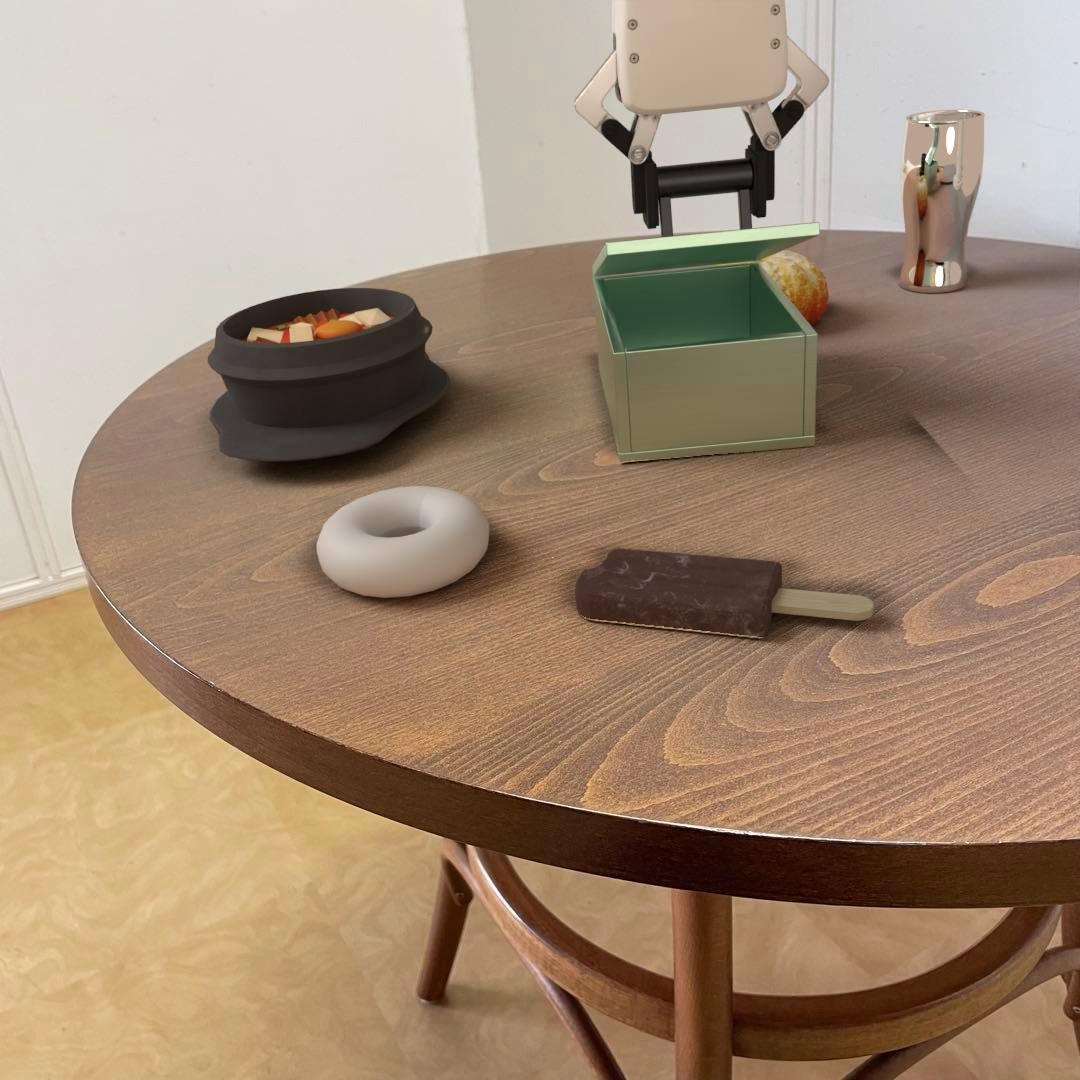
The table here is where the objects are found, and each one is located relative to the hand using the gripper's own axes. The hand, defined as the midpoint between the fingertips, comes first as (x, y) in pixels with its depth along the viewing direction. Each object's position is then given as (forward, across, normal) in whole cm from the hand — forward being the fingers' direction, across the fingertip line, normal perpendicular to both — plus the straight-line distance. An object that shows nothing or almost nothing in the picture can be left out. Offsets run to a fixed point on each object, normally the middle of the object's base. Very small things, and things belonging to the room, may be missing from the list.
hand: (703, 216), depth 72 cm
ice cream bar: (+15, +3, +23) cm, 28 cm away
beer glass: (+15, -26, -30) cm, 43 cm away
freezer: (+15, 0, -6) cm, 16 cm away
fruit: (+15, -9, -24) cm, 29 cm away
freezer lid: (+4, 0, -6) cm, 7 cm away
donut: (+15, +20, +15) cm, 29 cm away
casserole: (+15, +28, -10) cm, 33 cm away
